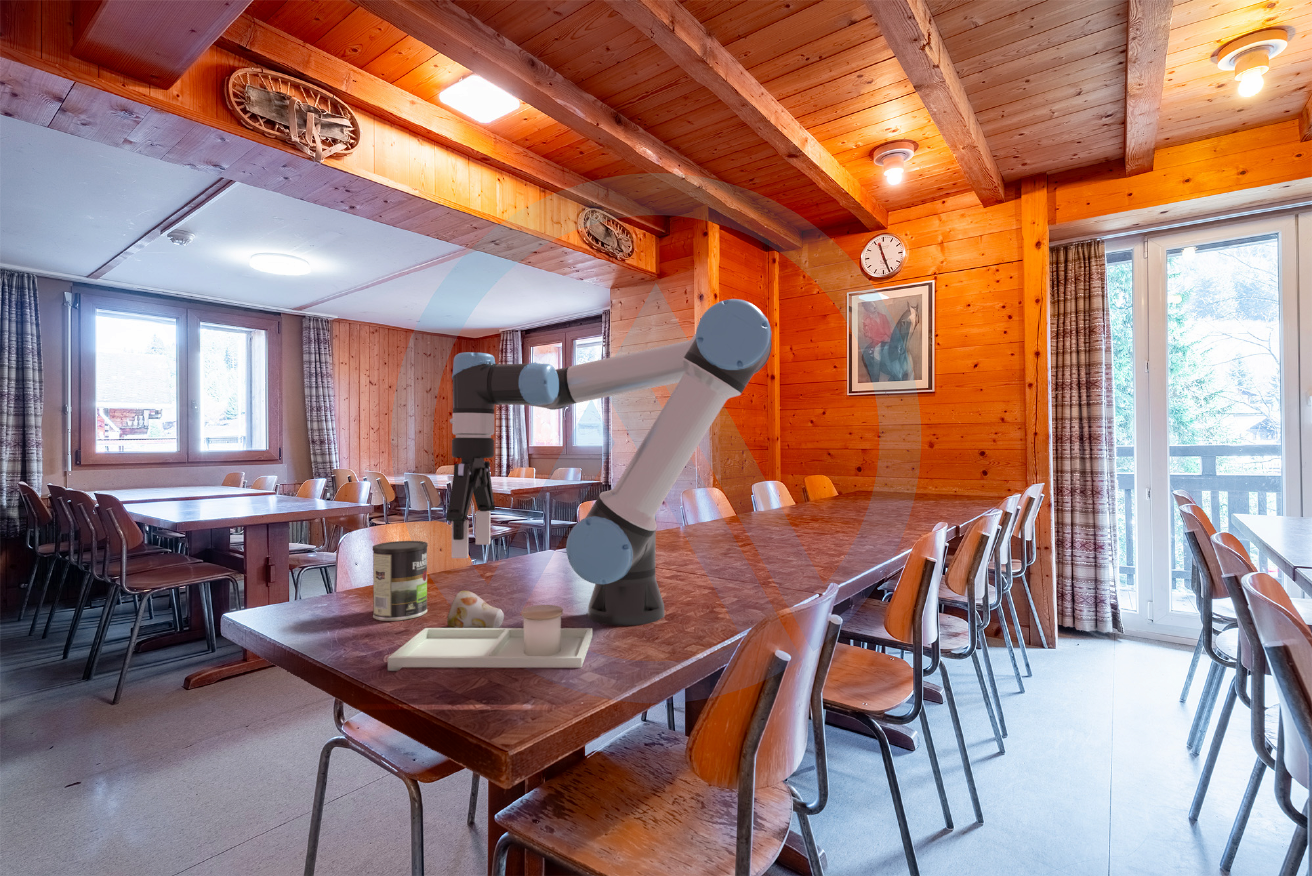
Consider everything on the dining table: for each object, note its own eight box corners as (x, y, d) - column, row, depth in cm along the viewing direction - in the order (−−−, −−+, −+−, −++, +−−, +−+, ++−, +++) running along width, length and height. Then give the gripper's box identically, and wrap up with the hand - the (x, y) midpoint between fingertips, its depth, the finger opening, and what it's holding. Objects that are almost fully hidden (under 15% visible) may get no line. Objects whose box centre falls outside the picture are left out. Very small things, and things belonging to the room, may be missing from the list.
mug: (502, 636, 109) (472, 591, 107) (459, 656, 111) (430, 612, 110) (516, 614, 116) (489, 572, 115) (475, 633, 118) (448, 591, 117)
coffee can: (435, 607, 128) (435, 540, 128) (415, 621, 117) (415, 549, 117) (386, 606, 128) (387, 540, 128) (362, 621, 117) (362, 549, 117)
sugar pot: (565, 643, 102) (565, 604, 102) (559, 657, 96) (559, 616, 96) (526, 643, 102) (526, 604, 102) (517, 657, 96) (517, 616, 96)
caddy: (592, 639, 106) (592, 628, 106) (581, 671, 92) (581, 658, 92) (425, 639, 107) (425, 627, 107) (387, 670, 92) (387, 657, 92)
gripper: (473, 436, 125) (472, 539, 125) (427, 436, 100) (425, 564, 100) (510, 437, 125) (509, 539, 125) (472, 436, 100) (471, 564, 100)
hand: (472, 550), depth 112 cm, fingers open, 13 cm apart
